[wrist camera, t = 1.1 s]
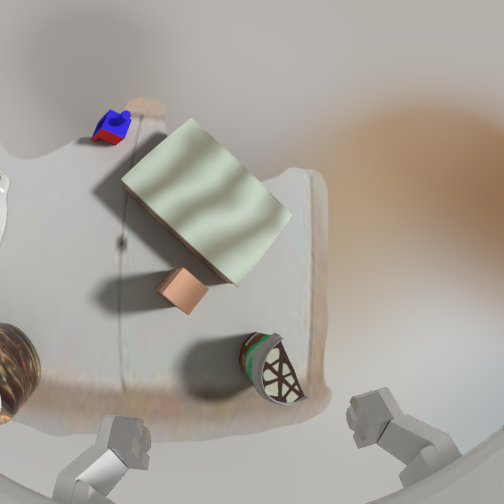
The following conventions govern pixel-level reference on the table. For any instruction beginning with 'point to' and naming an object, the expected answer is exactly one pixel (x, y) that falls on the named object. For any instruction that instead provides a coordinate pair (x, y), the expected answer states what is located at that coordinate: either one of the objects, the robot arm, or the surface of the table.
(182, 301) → the tall block
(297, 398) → the food container
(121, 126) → the toy building block
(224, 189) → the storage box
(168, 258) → the table surface
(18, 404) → the jar
